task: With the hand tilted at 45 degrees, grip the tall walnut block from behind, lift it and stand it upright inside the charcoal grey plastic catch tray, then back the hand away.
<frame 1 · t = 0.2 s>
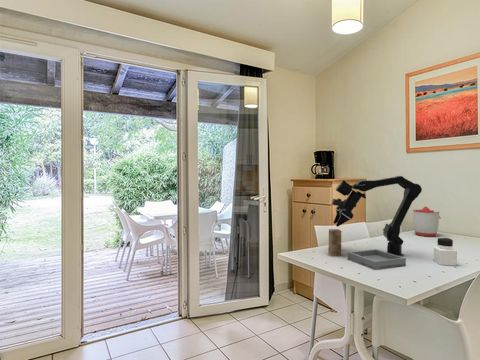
hand: (335, 224, 166), 15 cm above the table, tool tilted 35°, fingers open, 9 cm apart
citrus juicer: (426, 235, 212), on the table
catch tray: (375, 262, 147), on the table
walnut block: (334, 254, 161), on the table
medicine bottle: (444, 263, 146), on the table
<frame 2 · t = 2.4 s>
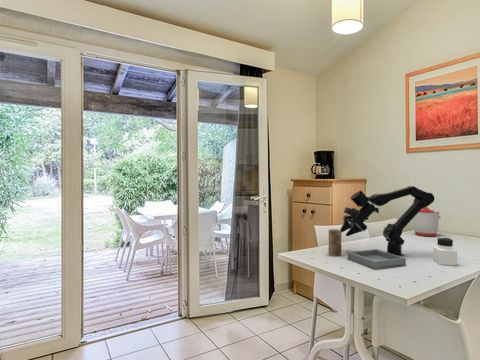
hand: (343, 233, 161), 11 cm above the table, tool tilted 45°, fingers open, 9 cm apart
nothing on the table moved.
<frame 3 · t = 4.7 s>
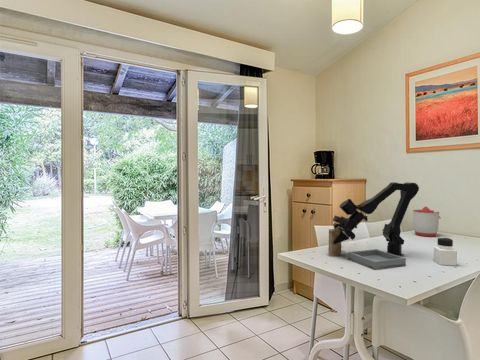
hand: (332, 242, 161), 7 cm above the table, tool tilted 45°, fingers closed on walnut block, 5 cm apart
walnut block: (334, 254, 161), on the table, touching gripper
everything else where it was.
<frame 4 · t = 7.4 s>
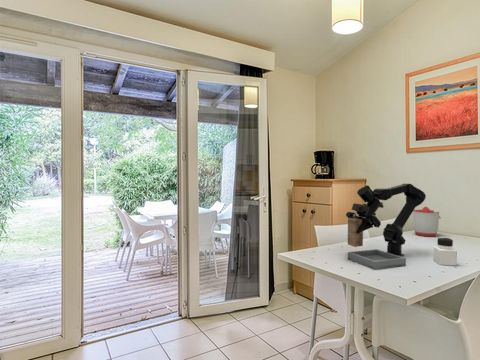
hand: (353, 232, 151), 14 cm above the table, tool tilted 45°, fingers closed on walnut block, 5 cm apart
walnut block: (355, 245, 152), point 7 cm above the table, touching gripper
everything else where it was.
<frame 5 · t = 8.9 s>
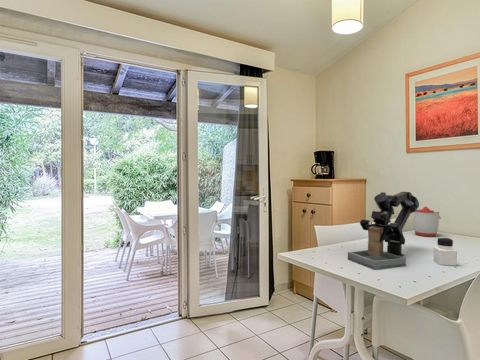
hand: (374, 240, 146), 11 cm above the table, tool tilted 45°, fingers closed on walnut block, 5 cm apart
walnut block: (375, 254, 148), point 4 cm above the table, touching gripper
everything else where it was.
when the fingers open (8 cm above the table, at t = 10.1 s): walnut block stays where it is, resting on catch tray.
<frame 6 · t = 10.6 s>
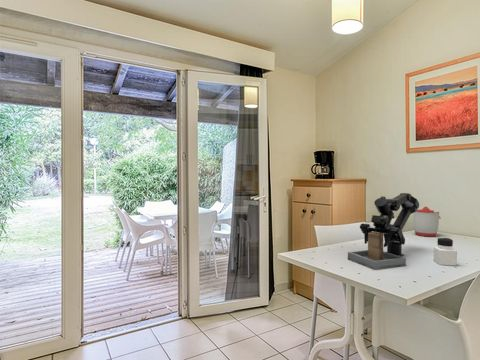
hand: (374, 245, 146), 9 cm above the table, tool tilted 45°, fingers open, 9 cm apart
walnut block: (375, 260, 147), point 1 cm above the table, touching catch tray
everything else where it was.
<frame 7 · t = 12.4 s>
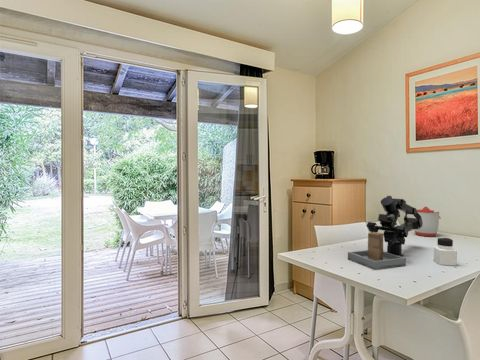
hand: (381, 242, 151), 9 cm above the table, tool tilted 45°, fingers open, 9 cm apart
nothing on the table moved.
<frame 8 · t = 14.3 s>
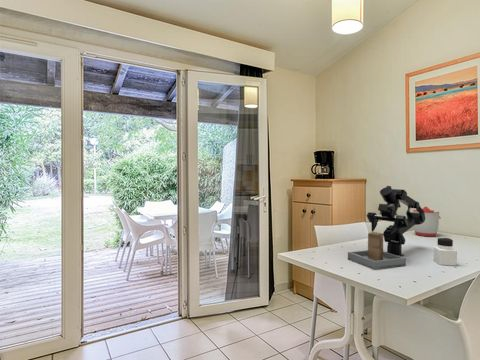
hand: (381, 232, 151), 14 cm above the table, tool tilted 45°, fingers open, 9 cm apart
nothing on the table moved.
at the end: walnut block inside the target area on the catch tray (0.1 cm from its centre), point 1.0 cm above the catch tray's base; walnut block tilted 0°; the gripper is holding nothing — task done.
